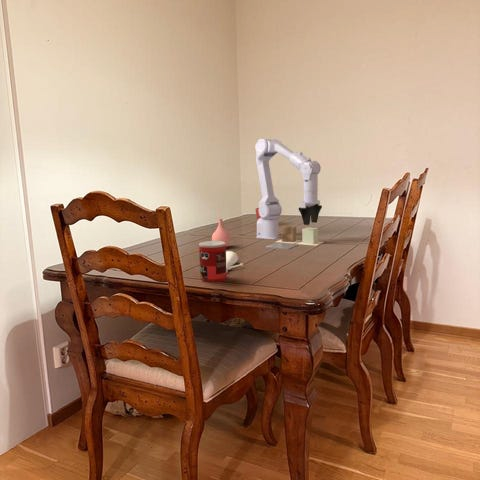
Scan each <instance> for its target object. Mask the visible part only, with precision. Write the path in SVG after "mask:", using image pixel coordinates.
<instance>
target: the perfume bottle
mask: <svg viewBox="0 0 480 480" xmlns="http://www.w3.org/2000/svg"><path fill="white" fill-rule="evenodd" d="M211 241H222V242H225V243H226V247H229V246H230V242H231V235H230V233H229V231H228V230H226V229H225V227H224V225H223V218H218V225H217V228H216V230H215V231H214V232H213V234H212V236H211Z"/></svg>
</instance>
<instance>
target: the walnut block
mask: <svg viewBox="0 0 480 480" xmlns="http://www.w3.org/2000/svg"><path fill="white" fill-rule="evenodd" d="M281 236H282V237H281V240H282V242H294V241H296V240H297V226H291V225H289V226H288V225H285V226H281ZM282 242H281V243H282Z"/></svg>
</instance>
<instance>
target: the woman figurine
mask: <svg viewBox="0 0 480 480" xmlns="http://www.w3.org/2000/svg"><path fill="white" fill-rule="evenodd" d="M238 259H239V257H238V254H237V253H236V252H234V251H230V250H226V270H227V274H228V271H230V270H231V269H234V268H237V267H241V266H242V267H243V265H244V262H240V264H236V263H237V262H238ZM235 264H236V265H235Z"/></svg>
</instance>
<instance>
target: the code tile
mask: <svg viewBox="0 0 480 480" xmlns="http://www.w3.org/2000/svg"><path fill="white" fill-rule="evenodd" d="M323 243H324V241H319V240H318V243H315V244H305V243H302V241H299V242H297V243H295V244H298V245H306V246H318V245H321V244H323Z"/></svg>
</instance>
